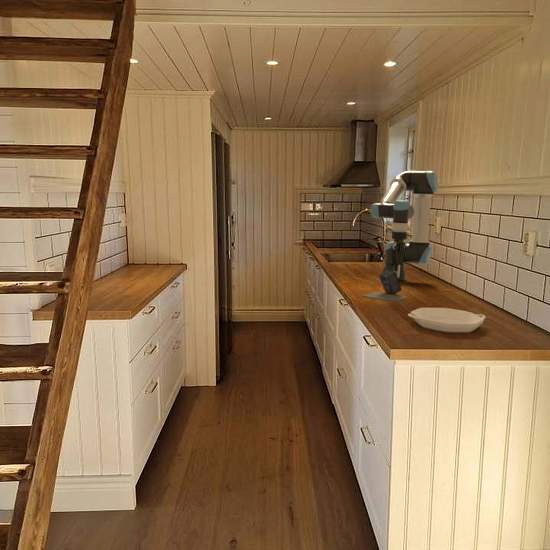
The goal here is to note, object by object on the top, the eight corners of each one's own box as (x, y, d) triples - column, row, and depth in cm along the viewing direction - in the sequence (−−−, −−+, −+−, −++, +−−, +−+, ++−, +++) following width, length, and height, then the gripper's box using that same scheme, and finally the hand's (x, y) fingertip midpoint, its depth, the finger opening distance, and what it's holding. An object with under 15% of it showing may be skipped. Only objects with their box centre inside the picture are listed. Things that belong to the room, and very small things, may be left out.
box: (385, 292, 250) (378, 274, 248) (394, 288, 251) (387, 269, 249) (393, 295, 243) (386, 276, 240) (402, 290, 244) (395, 271, 241)
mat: (374, 292, 250) (374, 291, 250) (407, 297, 239) (407, 297, 239) (362, 296, 239) (362, 295, 239) (396, 302, 228) (396, 301, 228)
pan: (419, 334, 175) (420, 323, 175) (396, 317, 200) (397, 307, 200) (500, 335, 178) (502, 323, 177) (468, 317, 203) (469, 307, 202)
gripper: (397, 230, 250) (394, 274, 254) (387, 231, 240) (384, 277, 244) (411, 231, 246) (408, 276, 250) (401, 232, 236) (397, 279, 240)
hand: (396, 277), depth 247 cm, fingers closed
